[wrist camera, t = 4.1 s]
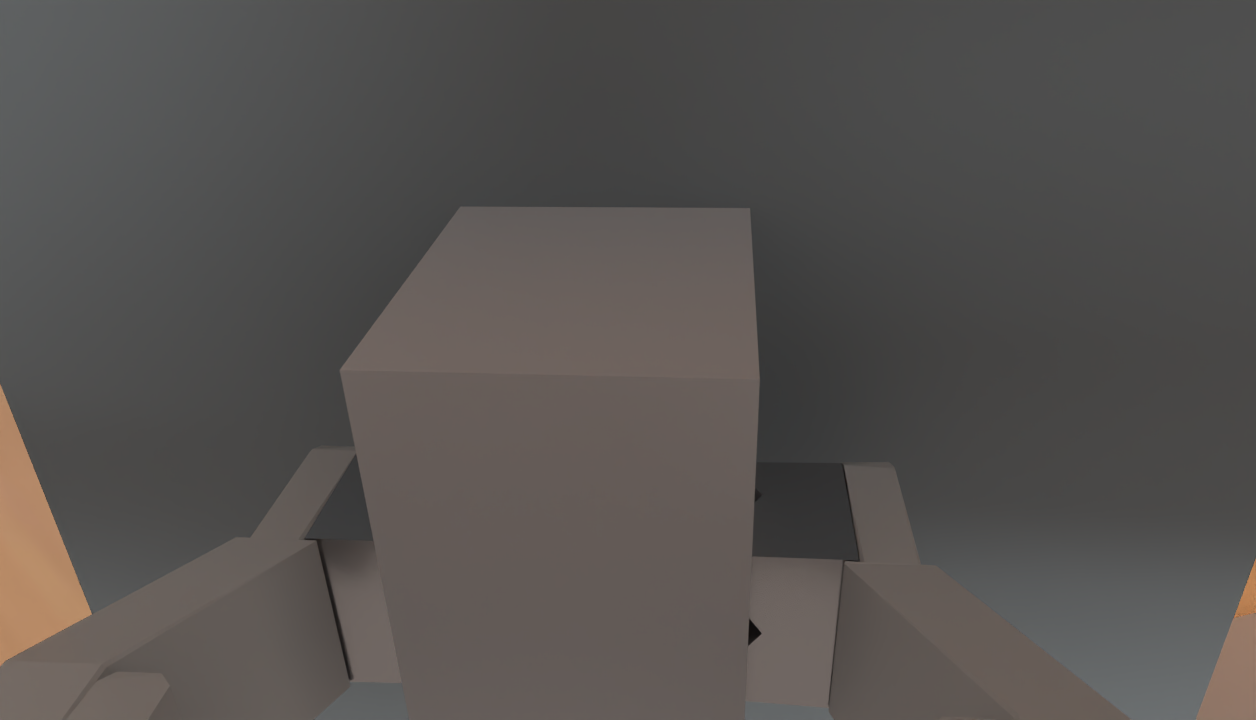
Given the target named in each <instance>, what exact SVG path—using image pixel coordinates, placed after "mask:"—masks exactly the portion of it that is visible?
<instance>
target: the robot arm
mask: <svg viewBox="0 0 1256 720" xmlns="http://www.w3.org/2000/svg"><path fill="white" fill-rule="evenodd" d="M350 682H377V683H402V681H401V676H400V671H399V666H398V661H397V656H396V651H395V646H394V641H393V636H392V631H391V626H390V621H389V616H388V611H387V606H386V601H385V596H384V591H383V586H382V581H381V576H380V571H379V565H378V560H377V555H376V550H375V545H374V540H373V535H372V530H371V525H370V520H369V515H368V510H367V505H366V500H365V495H364V490H363V485H362V480H361V475H360V470H359V465H358V460H357V455H356V450H355V446H319V447H317V448H314V449H312V450H311V451H310V452H309V454H308V455H307V456H306V458H305V459H304V461H303V462H302V464H301V465H300V467H299V468H298V469H297V471H296V472H295V474H294V475H293V477H292V478H291V479H290V481H289V482H288V484H287V485H286V487H285V488H284V490H283V491H282V492H281V494H280V495H279V497H278V498H277V500H276V501H275V502H274V504H273V505H272V507H271V508H270V510H269V511H268V513H267V514H266V515H265V517H264V518H263V520H262V521H261V523H260V524H259V526H258V527H257V528H256V530H255V531H254V533H253V534H252V536H251V537H250V538H245V537H236V538H234V539H232V540H230V541H228V542H226V543H224V544H223V545H221V546H219V547H217V548H215V549H213V550H211V551H209V552H208V553H206V554H204V555H202V556H200V557H198V558H196V559H195V560H193V561H191V562H189V563H187V564H185V565H183V566H182V567H180V568H178V569H176V570H174V571H172V572H170V573H168V574H167V575H165V576H163V577H161V578H159V579H157V580H155V581H154V582H152V583H150V584H148V585H146V586H144V587H142V588H141V589H139V590H137V591H135V592H133V593H131V594H129V595H127V596H126V597H124V598H122V599H120V600H118V601H116V602H114V603H113V604H111V605H109V606H107V607H105V608H103V609H101V610H99V611H98V612H96V613H94V614H92V615H90V616H88V617H86V618H85V619H83V620H81V621H79V622H77V623H75V624H73V625H72V626H70V627H68V628H66V629H64V630H62V631H60V632H58V633H57V634H55V635H53V636H51V637H49V638H47V639H45V640H44V641H42V642H40V643H38V644H36V645H34V646H32V647H31V648H29V649H27V650H25V651H23V652H21V653H19V654H17V655H16V656H14V657H12V658H10V659H8V660H6V661H5V662H4V663H3V664H2V665H1V667H0V720H314V719H315V718H316V717H317V716H318V715H319V714H320V713H321V712H322V711H324V710H325V709H326V708H327V707H328V706H329V705H330V704H331V703H332V702H334V701H335V700H336V699H337V698H338V697H339V696H340V695H341V694H342V693H344V692H345V691H346V690H347V689H348V688H349V687H350ZM745 701H749V702H761V703H773V704H785V705H798V706H810V707H822V708H829V713H830V715H831V716H832V717H833V719H834V720H1131V719H1130V718H1129V717H1128V716H1126V715H1125V714H1124V713H1123V712H1121V711H1120V710H1119V709H1118V708H1116V707H1115V706H1114V705H1112V704H1111V703H1110V702H1109V701H1107V700H1106V699H1105V698H1104V697H1102V696H1101V695H1100V694H1098V693H1097V692H1096V691H1095V690H1093V689H1092V688H1091V687H1090V686H1088V685H1087V684H1086V683H1085V682H1083V681H1082V680H1081V679H1079V678H1078V677H1077V676H1076V675H1074V674H1073V673H1072V672H1071V671H1069V670H1068V669H1067V668H1065V667H1064V666H1063V665H1062V664H1060V663H1059V662H1058V661H1057V660H1055V659H1054V658H1053V657H1052V656H1050V655H1049V654H1048V653H1046V652H1045V651H1044V650H1043V649H1041V648H1040V647H1039V646H1038V645H1036V644H1035V643H1034V642H1032V641H1031V640H1030V639H1029V638H1027V637H1026V636H1025V635H1024V634H1022V633H1021V632H1020V631H1019V630H1017V629H1016V628H1015V627H1013V626H1012V625H1011V624H1010V623H1008V622H1007V621H1006V620H1005V619H1003V618H1002V617H1001V616H999V615H998V614H997V613H996V612H994V611H993V610H992V609H991V608H989V607H988V606H987V605H986V604H984V603H983V602H982V601H980V600H979V599H978V598H977V597H975V596H974V595H973V594H972V593H970V592H969V591H968V590H966V589H965V588H964V587H963V586H961V585H960V584H959V583H958V582H956V581H955V580H954V579H953V578H951V577H950V576H949V575H947V574H946V573H945V572H944V571H942V570H941V569H940V568H939V567H937V566H936V565H921V563H920V559H919V555H918V552H917V548H916V544H915V541H914V537H913V533H912V530H911V526H910V522H909V519H908V515H907V511H906V508H905V504H904V500H903V497H902V493H901V489H900V485H899V482H898V478H897V474H896V471H895V467H894V466H893V465H892V464H891V463H889V462H841V463H799V462H756V476H755V498H754V521H753V543H752V565H751V588H750V610H749V632H748V655H747V677H746V699H745Z"/></svg>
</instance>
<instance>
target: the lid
mask: <svg viewBox="0 0 1256 720" xmlns="http://www.w3.org/2000/svg"><path fill="white" fill-rule="evenodd" d="M0 384H1V386H2V389H3V391H4V394H5V396H6V399H7V401H8V404H9V407H10V409H11V412H12V414H13V417H14V419H15V422H16V424H17V427H18V429H19V432H20V434H21V437H22V439H23V442H24V444H25V447H26V449H27V452H28V454H29V457H30V459H31V462H32V464H33V467H34V469H35V472H36V474H37V477H38V479H39V482H40V484H41V487H42V489H43V492H44V494H45V497H46V499H47V502H48V504H49V507H50V509H51V512H52V514H53V517H54V519H55V522H56V524H57V527H58V530H59V532H60V535H61V537H62V540H63V542H64V545H65V547H66V550H67V552H68V555H69V557H70V560H71V562H72V565H73V567H74V570H75V572H76V575H77V577H78V580H79V582H80V585H81V587H82V590H83V592H84V595H85V597H86V600H87V602H88V605H89V607H90V610H91V612H92V614H94V613H96V612H98V611H99V610H101V609H103V608H105V607H107V606H109V605H111V604H113V603H114V602H116V601H118V600H120V599H122V598H124V597H126V596H127V595H129V594H131V593H133V592H135V591H137V590H139V589H141V588H142V587H144V586H146V585H148V584H150V583H152V582H154V581H155V580H157V579H159V578H161V577H163V576H165V575H167V574H168V573H170V572H172V571H174V570H176V569H178V568H180V567H182V566H183V565H185V564H187V563H189V562H191V561H193V560H195V559H196V558H198V557H200V556H202V555H204V554H206V553H208V552H209V551H211V550H213V549H215V548H217V547H219V546H221V545H223V544H224V543H226V542H228V541H230V540H232V539H234V538H236V537H245V538H250V537H251V536H252V534H253V533H254V531H255V530H256V528H257V527H258V526H259V524H260V523H261V521H262V520H263V518H264V517H265V515H266V514H267V513H268V511H269V510H270V508H271V507H272V505H273V504H274V502H275V501H276V500H277V498H278V497H279V495H280V494H281V492H282V491H283V490H284V488H285V487H286V485H287V484H288V482H289V481H290V479H291V478H292V477H293V475H294V474H295V472H296V471H297V469H298V468H299V467H300V465H301V464H302V462H303V461H304V459H305V458H306V456H307V455H308V454H309V452H310V451H311V450H312V449H314V448H317V447H319V446H355V450H356V455H357V460H358V465H359V470H360V475H361V480H362V485H363V490H364V495H365V500H366V505H367V510H368V515H369V520H370V525H371V530H372V535H373V540H374V545H375V550H376V555H377V560H378V565H379V571H380V576H381V581H382V586H383V591H384V596H385V601H386V606H387V611H388V616H389V621H390V626H391V631H392V636H393V641H394V646H395V651H396V656H397V661H398V666H399V671H400V676H401V681H402V683H377V682H350V687H349V688H348V689H347V690H346V691H345V692H344V693H342V694H341V695H340V696H339V697H338V698H337V699H336V700H335V701H334V702H332V703H331V704H330V705H329V706H328V707H327V708H326V709H325V710H324V711H322V712H321V713H320V714H319V715H318V716H317V717H316V718H315V719H314V720H834V719H833V717H832V716H831V715H830V713H829V708H822V707H810V706H798V705H785V704H773V703H761V702H749V701H745V699H746V677H747V655H748V632H749V610H750V588H751V565H752V543H753V521H754V498H755V476H756V462H799V463H841V462H889V463H891V464H892V465H893V466H894V467H895V471H896V474H897V478H898V482H899V485H900V489H901V493H902V497H903V500H904V504H905V508H906V511H907V515H908V519H909V522H910V526H911V530H912V533H913V537H914V541H915V544H916V548H917V552H918V555H919V559H920V563H921V565H936V566H937V567H939V568H940V569H941V570H942V571H944V572H945V573H946V574H947V575H949V576H950V577H951V578H953V579H954V580H955V581H956V582H958V583H959V584H960V585H961V586H963V587H964V588H965V589H966V590H968V591H969V592H970V593H972V594H973V595H974V596H975V597H977V598H978V599H979V600H980V601H982V602H983V603H984V604H986V605H987V606H988V607H989V608H991V609H992V610H993V611H994V612H996V613H997V614H998V615H999V616H1001V617H1002V618H1003V619H1005V620H1006V621H1007V622H1008V623H1010V624H1011V625H1012V626H1013V627H1015V628H1016V629H1017V630H1019V631H1020V632H1021V633H1022V634H1024V635H1025V636H1026V637H1027V638H1029V639H1030V640H1031V641H1032V642H1034V643H1035V644H1036V645H1038V646H1039V647H1040V648H1041V649H1043V650H1044V651H1045V652H1046V653H1048V654H1049V655H1050V656H1052V657H1053V658H1054V659H1055V660H1057V661H1058V662H1059V663H1060V664H1062V665H1063V666H1064V667H1065V668H1067V669H1068V670H1069V671H1071V672H1072V673H1073V674H1074V675H1076V676H1077V677H1078V678H1079V679H1081V680H1082V681H1083V682H1085V683H1086V684H1087V685H1088V686H1090V687H1091V688H1092V689H1093V690H1095V691H1096V692H1097V693H1098V694H1100V695H1101V696H1102V697H1104V698H1105V699H1106V700H1107V701H1109V702H1110V703H1111V704H1112V705H1114V706H1115V707H1116V708H1118V709H1119V710H1120V711H1121V712H1123V713H1124V714H1125V715H1126V716H1128V717H1129V718H1130V719H1131V720H1196V717H1197V715H1198V712H1199V709H1200V706H1201V704H1202V701H1203V698H1204V696H1205V693H1206V690H1207V688H1208V685H1209V682H1210V680H1211V677H1212V674H1213V672H1214V669H1215V666H1216V664H1217V661H1218V658H1219V655H1220V653H1221V650H1222V647H1223V645H1224V642H1225V639H1226V637H1227V634H1228V631H1229V629H1230V626H1231V623H1232V621H1233V618H1234V615H1235V612H1236V610H1237V607H1238V604H1239V602H1240V599H1241V596H1242V594H1243V591H1244V588H1245V586H1246V583H1247V580H1248V578H1249V575H1250V572H1251V569H1252V567H1253V564H1254V561H1255V559H1256V0H0Z"/></svg>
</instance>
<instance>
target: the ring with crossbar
mask: <svg viewBox="0 0 1256 720" xmlns="http://www.w3.org/2000/svg"><path fill="white" fill-rule="evenodd" d="M1196 720H1256V613H1253V614H1248V615H1244V616H1240V617H1236V618H1233V621H1232V623H1231V626H1230V629H1229V631H1228V634H1227V637H1226V639H1225V642H1224V645H1223V647H1222V650H1221V653H1220V655H1219V658H1218V661H1217V664H1216V666H1215V669H1214V672H1213V674H1212V677H1211V680H1210V682H1209V685H1208V688H1207V690H1206V693H1205V696H1204V698H1203V701H1202V704H1201V706H1200V709H1199V712H1198V715H1197V717H1196Z"/></svg>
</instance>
